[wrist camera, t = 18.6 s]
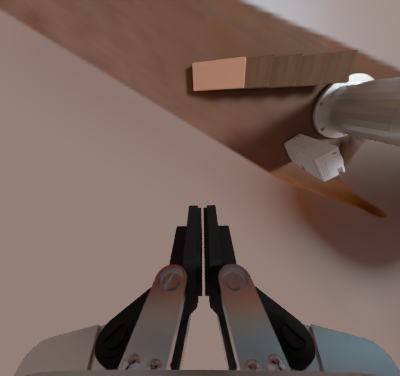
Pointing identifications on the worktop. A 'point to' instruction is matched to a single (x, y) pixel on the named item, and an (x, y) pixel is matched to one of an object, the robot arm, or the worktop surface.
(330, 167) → the skincare box
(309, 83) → the domino
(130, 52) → the worktop surface
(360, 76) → the robot arm
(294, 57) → the domino
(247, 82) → the domino
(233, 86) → the end tile
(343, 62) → the domino
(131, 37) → the worktop surface
